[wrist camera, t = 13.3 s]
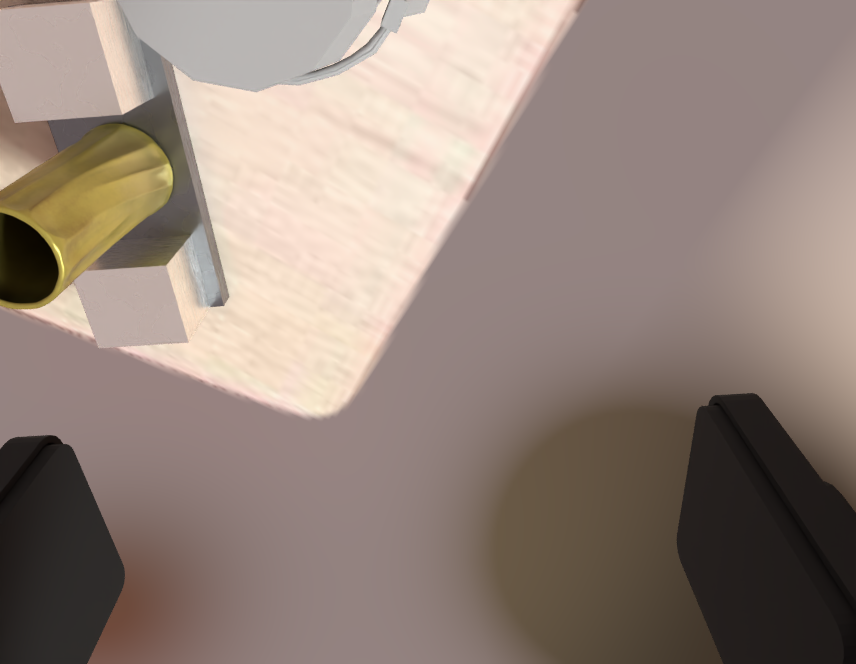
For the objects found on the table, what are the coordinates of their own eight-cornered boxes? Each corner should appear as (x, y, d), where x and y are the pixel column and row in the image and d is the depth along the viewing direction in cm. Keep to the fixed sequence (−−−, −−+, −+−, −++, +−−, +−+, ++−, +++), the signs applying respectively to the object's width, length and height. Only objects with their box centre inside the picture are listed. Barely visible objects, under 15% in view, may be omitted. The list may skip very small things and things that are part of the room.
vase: (154, 232, 45) (52, 339, 33) (64, 185, 43) (-80, 279, 31) (188, 156, 42) (92, 240, 30) (94, 103, 41) (-49, 169, 28)
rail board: (21, 4, 39) (-46, 13, 34) (154, -7, 39) (108, 1, 33) (122, 303, 49) (83, 349, 44) (229, 296, 49) (203, 341, 43)
